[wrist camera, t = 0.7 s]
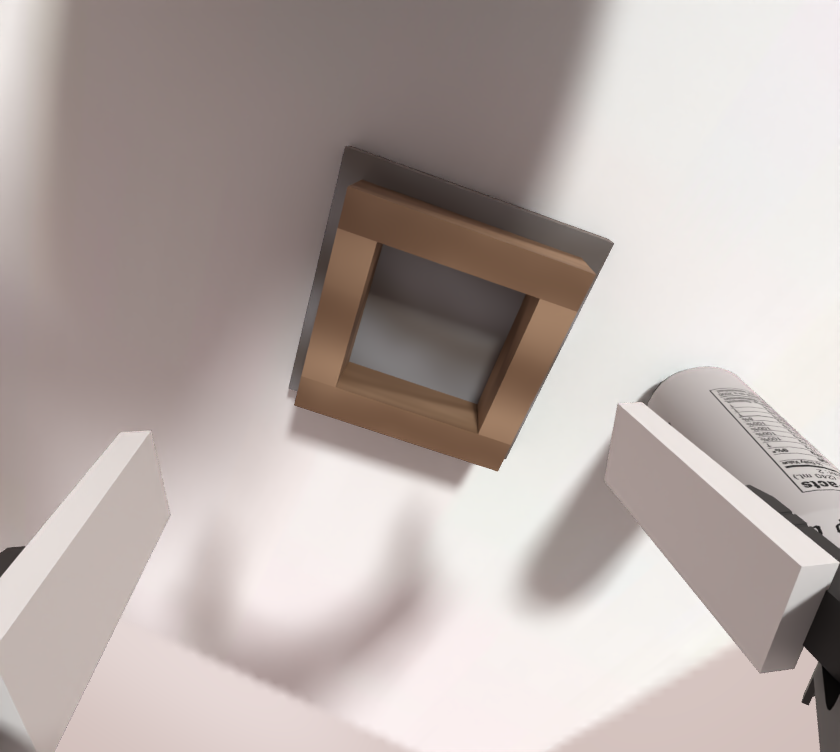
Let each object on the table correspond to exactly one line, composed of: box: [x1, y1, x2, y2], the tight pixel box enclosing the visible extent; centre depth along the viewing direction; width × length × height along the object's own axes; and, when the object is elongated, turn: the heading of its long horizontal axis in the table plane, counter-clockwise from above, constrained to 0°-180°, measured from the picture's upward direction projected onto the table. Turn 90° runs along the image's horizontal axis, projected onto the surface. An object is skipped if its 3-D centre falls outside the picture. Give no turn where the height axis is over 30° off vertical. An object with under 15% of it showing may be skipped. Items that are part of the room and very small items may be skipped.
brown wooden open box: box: [289, 146, 614, 471], centre depth 29 cm, size 15×15×5 cm
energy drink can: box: [647, 366, 840, 548], centre depth 25 cm, size 6×6×15 cm
